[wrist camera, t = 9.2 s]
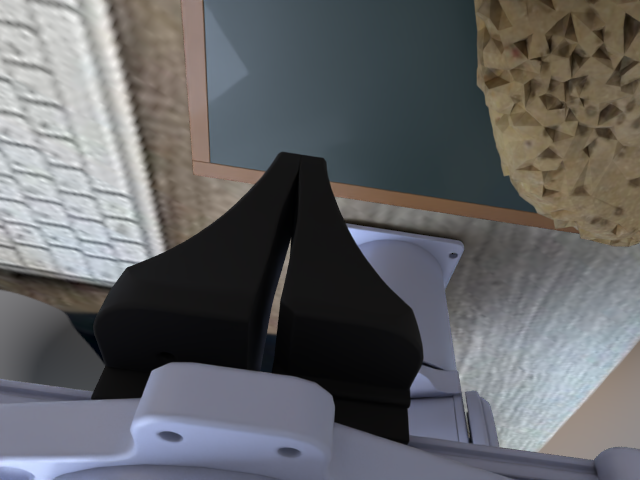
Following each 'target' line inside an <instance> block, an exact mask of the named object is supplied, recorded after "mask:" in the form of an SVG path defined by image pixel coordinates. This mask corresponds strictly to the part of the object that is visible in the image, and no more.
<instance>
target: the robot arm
mask: <svg viewBox="0 0 640 480" xmlns="http://www.w3.org/2000/svg"><path fill="white" fill-rule="evenodd" d="M290 240H291V250H290V260H289V265H288V270H287V274H286V279H285V283H284V288H283V292H282V297H281V301H280V310H279V320H278V329H277V338H276V347H275V356H274V363H273V369H272V373H265V372H260V369H261V363H262V357H263V351H264V346H265V340H266V335H267V329H268V324H269V318H270V313H271V307H272V303H273V299H274V295H275V291H276V288H277V285H278V281H279V278H280V274H281V271H282V267H283V264H284V261H285V257H286V254H287V250H288V247H289V243H290ZM463 251H464V245H463V243H462V242H461V241H458V240H452V239H446V238H439V237H433V236H426V235H419V234H413V233H406V232H400V231H393V230H386V229H380V228H373V227H367V226H360V225H353V224H347V223H345V221H344V219H343V217H342V215H341V213H340V210H339V208H338V205H337V202H336V200H335V197H334V194H333V191H332V188H331V185H330V181H329V177H328V172H327V162H326V161H325V159H324V158H321V157H314V156H308V155H301V154H295V153H288V152H280V153H279V154H277V156H276V158H275V159H274V161H273V162H272V164H271V165H270V167H269V168H268V169H267V171H266V172H265V173H264V174H263V176H262V177H261V178H260V179H259V180H258V181H257V182H256V184H255V185H254V186H253V187H252V188H251V189H250V190H249V191H248V192H247V193H246V194H245V195H244V196H243V197H242V198H241V199H240V200H239V201H238V202H237V203H236V204H235V205H234V206H233V207H232V208H231V209H230V210H228V211H227V212H226V213H225V214H224V215H222V216H221V217H220V218H219V219H217V220H216V221H215V222H213V223H212V224H211V225H209V226H208V227H206V228H205V229H204V230H202V231H201V232H199V233H198V234H196V235H195V236H193V237H191V238H190V239H188V240H186V241H185V242H183V243H181V244H179V245H177V246H175V247H174V248H172V249H170V250H168V251H166V252H164V253H161V254H159V255H157V256H155V257H152V258H150V259H147V260H145V261H142V262H140V263H138V264H135V265H133V266H130V267H127V268H126V269H125V271H124V272H123V273H122V275H121V276H120V278H119V279H118V280H117V282H116V283H115V284H114V286H113V287H112V289H111V290H110V292H109V293H108V295H107V297H106V299H105V301H104V303H103V305H102V307H101V309H100V310H99V312H98V314H97V316H96V319H95V321H94V324H93V327H94V334H95V337H96V340H97V342H98V345H99V348H100V351H101V353H102V356H103V359H104V362H105V365H106V366H105V368H104V370H103V373H102V375H101V377H100V379H99V382H98V384H97V385H96V388H95V390H94V392H92V391H84V390H77V389H69V388H62V387H55V386H48V385H40V384H33V383H26V382H18V381H11V380H4V379H0V480H640V449H636V448H628V447H614V448H609V449H606V450H604V451H603V452H601V453H600V454H599V455H598V456H597V457H596V458H595V459H594V460H588V459H581V458H574V457H566V456H559V455H551V454H544V453H537V452H530V451H523V450H515V449H508V448H501V447H499V442H498V437H497V432H496V427H495V423H494V418H493V414H492V410H491V406H490V404H489V402H487V401H486V400H485V399H484V398H482V397H480V396H479V394H478V392H477V391H468V392H465V395H466V402H467V408H468V412H467V418H468V425H469V432H470V438H468V432H467V425H466V418H465V412H464V405H463V399H462V392H461V386H460V380H459V373H458V371H457V369H456V362H455V355H454V348H453V342H452V335H451V328H450V321H449V314H448V308H447V301H446V294H445V289H446V286H447V284H448V282H449V280H450V278H451V276H452V274H453V272H454V270H455V268H456V266H457V264H458V262H459V260H460V258H461V255H462V253H463ZM451 253H455V254H451Z"/></svg>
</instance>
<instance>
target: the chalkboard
mask: <svg viewBox="0 0 640 480" xmlns="http://www.w3.org/2000/svg"><path fill="white" fill-rule="evenodd" d="M181 13H182V26H183V40H184V54H185V67H186V81H187V95H188V108H189V122H190V135H191V149H192V163H193V174H194V175H199V176H205V177H212V178H218V179H225V180H231V181H238V182H244V183H251V184H256V182H257V181H258V180H259V179H260V178H261V177H262V176H263V174H264V173H265V172H266V171H267V169H268V168H269V167H270V165H271V164H272V162H273V161H274V159H275V158H276V156H277V154H279V153H280V152H288V153H295V154H301V155H308V156H314V157H321V158H324V159H325V161H326V162H327V172H328V177H329V181H330V185H331V188H332V191H333V194H334V196H336V197H342V198H349V199H355V200H362V201H369V202H375V203H382V204H388V205H395V206H401V207H408V208H414V209H421V210H427V211H434V212H440V213H447V214H454V215H460V216H467V217H473V218H480V219H486V220H493V221H499V222H506V223H512V224H519V225H525V226H532V227H539V228H545V229H552V230H558V231H565V232H571V233H578V234H580V233H579V231H578V230H577V229H575V228H574V227H573V226H571V227H565V228H556V229H555V226H554V220H552V219H550V218H547V217H545V216H542V215H540V214H538V213H537V211H536V209H535V207H534V206H533V205H531V204H530V203H529V202H527V201H526V200H524V199H523V198H522V197H520V196H519V193H518V192H517V190H516V189H515V187H514V186H513V185H512V183H511V181H510V177H509V175H508V176H504V175H503V171H502V167H501V158H500V155H499V153H498V150H497V148H496V142H495V139H494V135H493V128H492V123H491V119H490V115H489V108H488V106H486V102H485V95H484V92H483V91H482V90H481V89H480V88H479V87H478V86H477V68H478V57H477V24H476V14H475V4H474V0H181Z"/></svg>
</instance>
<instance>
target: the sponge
mask: <svg viewBox="0 0 640 480" xmlns="http://www.w3.org/2000/svg"><path fill="white" fill-rule="evenodd" d="M474 4H475V14H476V24H477V57H478V68H477V86H478V87H479V88H480V89H481V90H482V91H483V92H484V95H485V102H486V106H488V108H489V115H490V119H491V123H492V128H493V135H494V139H495V142H496V148H497V150H498V153H499V155H500V158H501V167H502V171H503V175H504V176H508V175H509V177H510V181H511V183H512V185H513V186H514V187H515V189H516V190H517V192H518V193H519V196H520V197H522V198H523V199H524V200H526V201H527V202H529V203H530V204H531V205H533V206H534V207H535V209H536V211H537V213H538V214H540V215H542V216H545V217H547V218H550V219H552V220H554V226H555V229H556V228H565V227H571V226H573V227H574V228H575V229H577V230H578V231H579V233H580V238H581V239H586V240H591V241H595V242H599V243H603V244H607V245H611V246H616V247H629V246H632V245H635V244H638V243H640V0H474Z"/></svg>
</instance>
